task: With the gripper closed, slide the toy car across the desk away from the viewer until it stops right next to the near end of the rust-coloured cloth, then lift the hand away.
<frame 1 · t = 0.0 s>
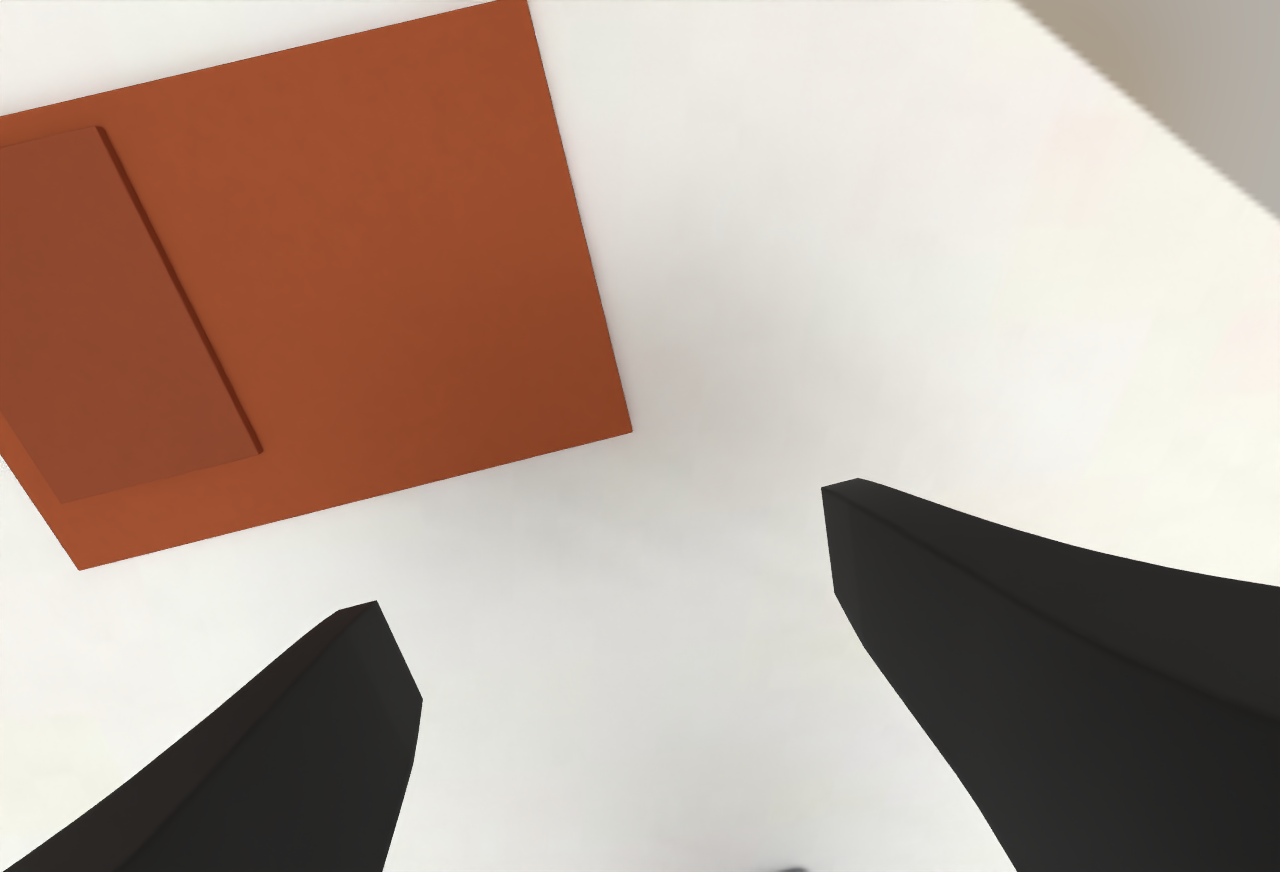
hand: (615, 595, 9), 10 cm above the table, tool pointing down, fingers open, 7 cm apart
rust cloth: (280, 314, 17), on the table
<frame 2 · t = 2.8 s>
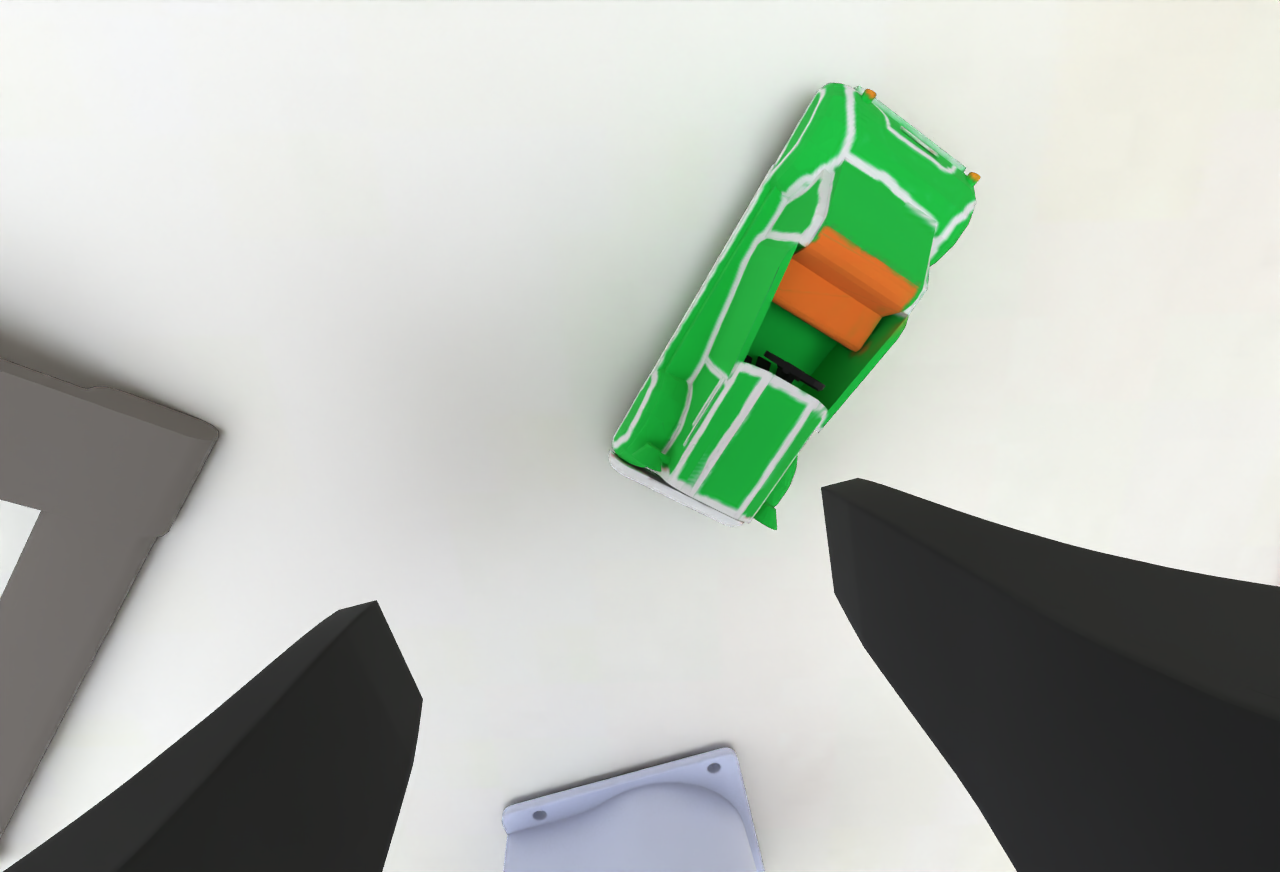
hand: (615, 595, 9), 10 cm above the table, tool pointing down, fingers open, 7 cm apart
toy car: (765, 320, 18), on the table
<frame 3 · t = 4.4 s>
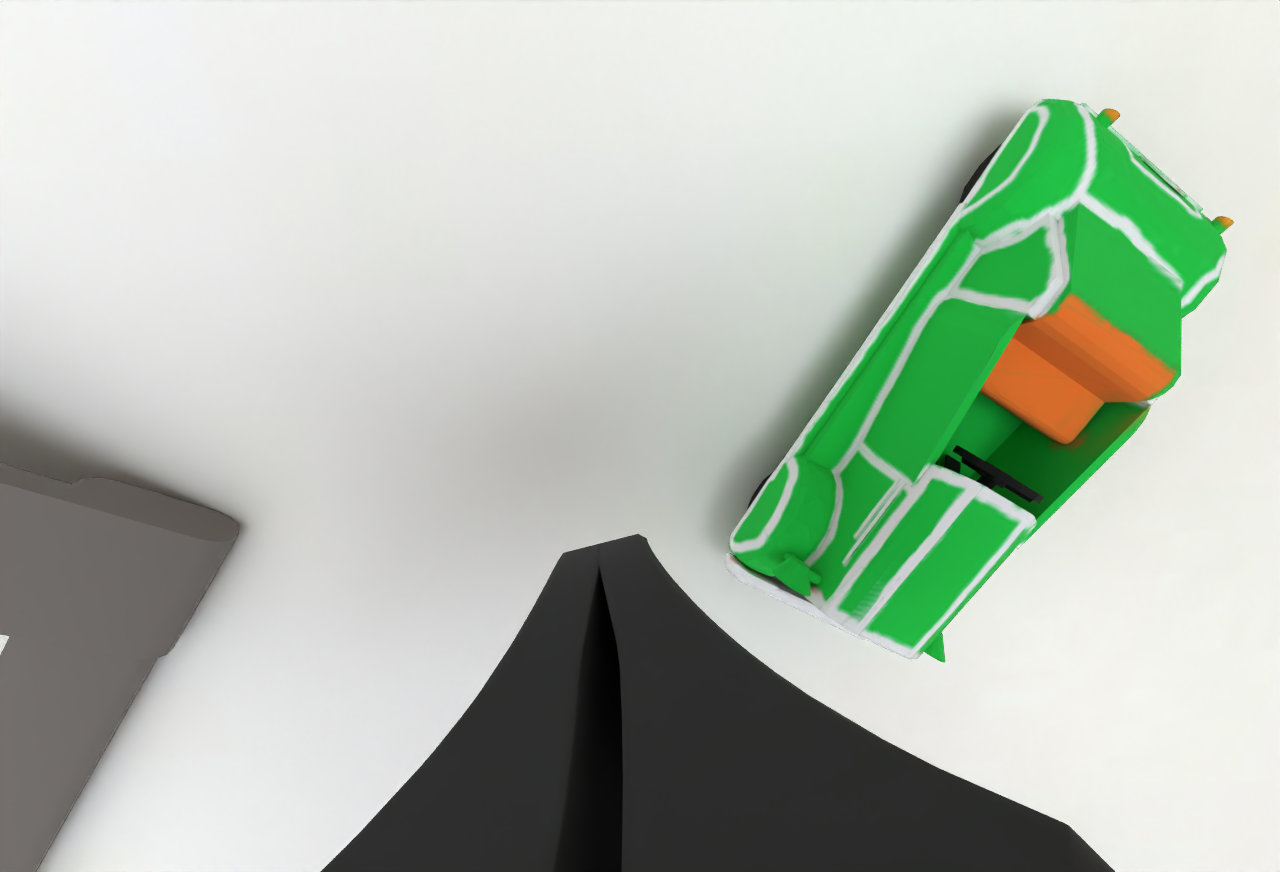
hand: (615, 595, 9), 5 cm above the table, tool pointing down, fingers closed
toy car: (915, 388, 15), on the table
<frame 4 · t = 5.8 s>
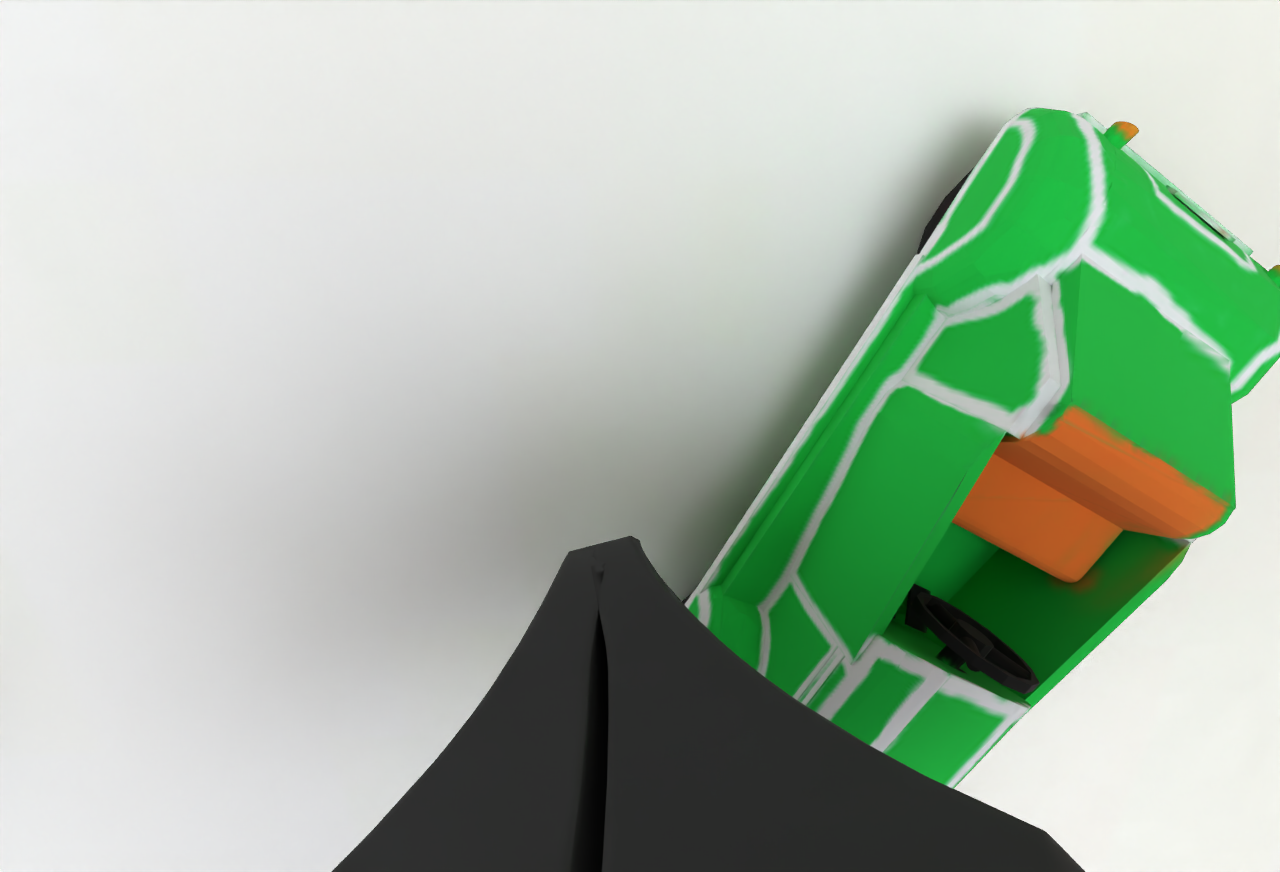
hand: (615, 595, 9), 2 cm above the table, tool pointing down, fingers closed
toy car: (873, 481, 11), on the table, touching gripper
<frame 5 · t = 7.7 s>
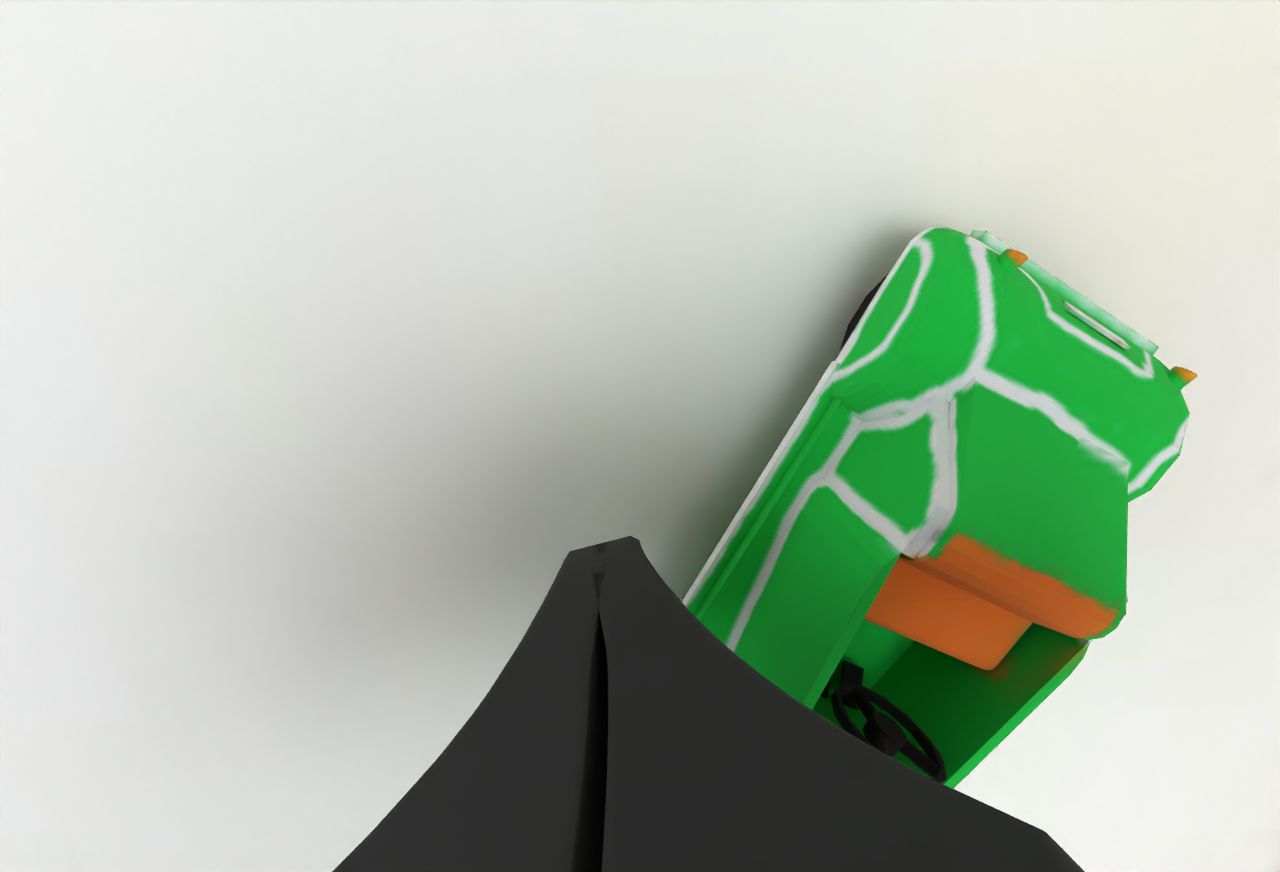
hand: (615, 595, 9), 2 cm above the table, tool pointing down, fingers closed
toy car: (815, 554, 12), on the table, touching gripper
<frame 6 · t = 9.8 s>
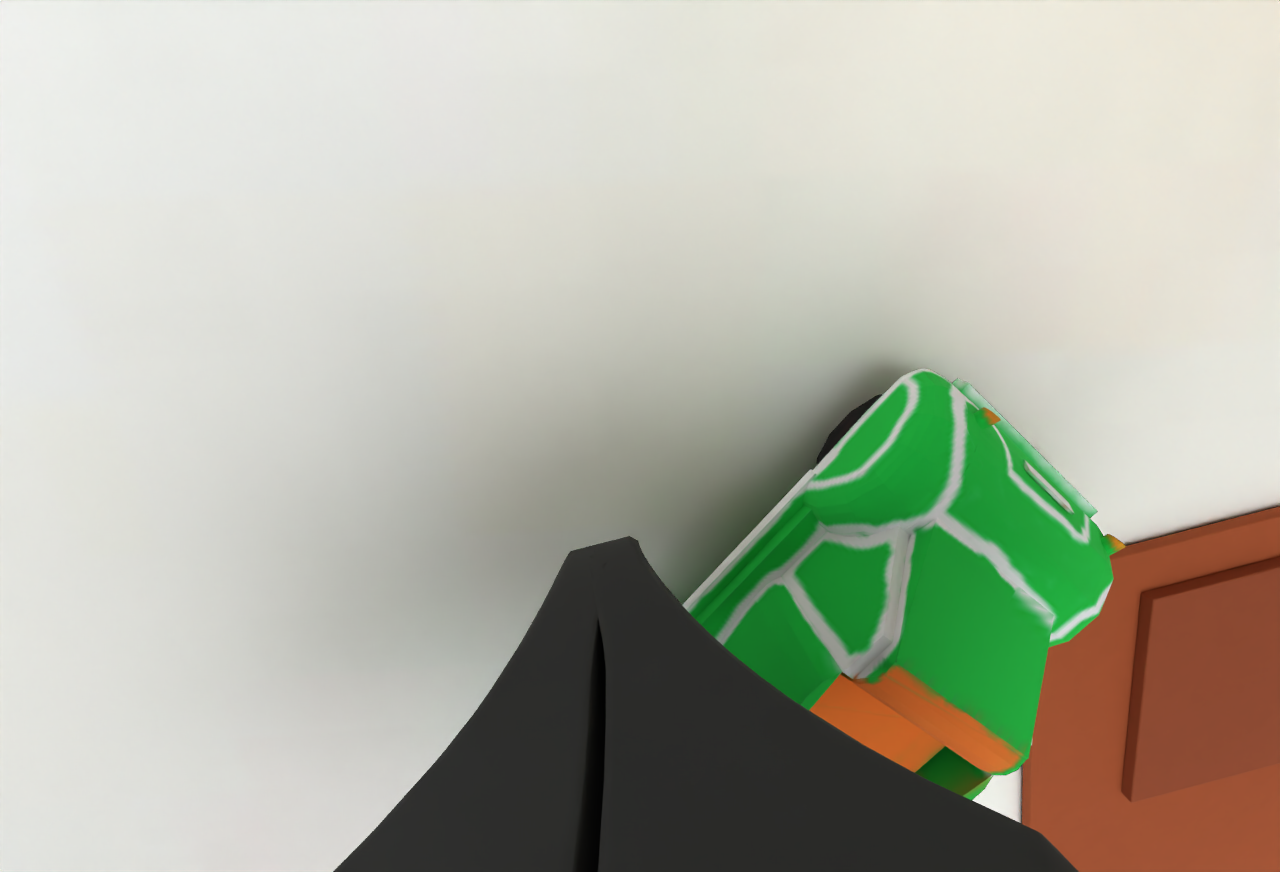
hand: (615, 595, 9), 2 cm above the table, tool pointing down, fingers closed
rust cloth: (1239, 799, 15), on the table
toy car: (758, 635, 12), on the table, touching gripper
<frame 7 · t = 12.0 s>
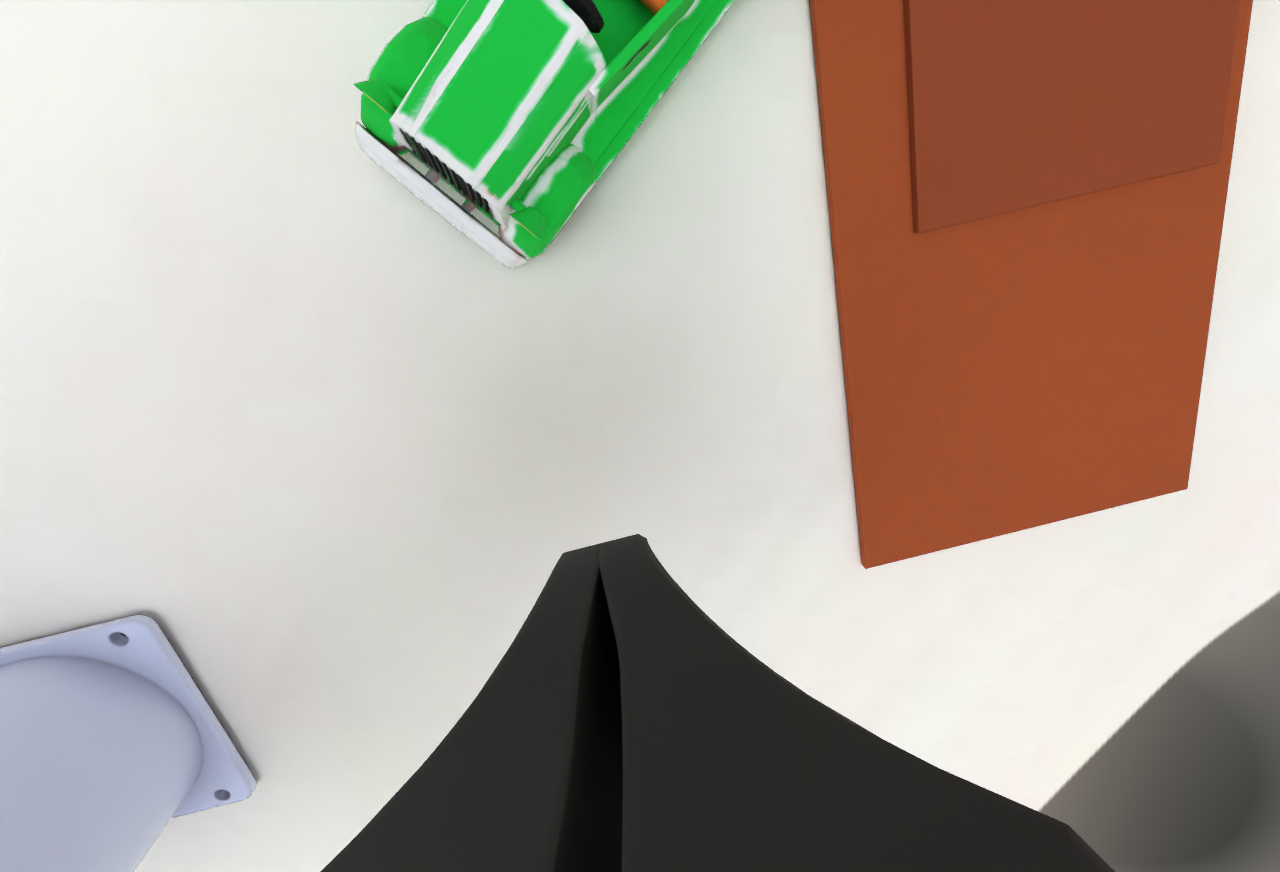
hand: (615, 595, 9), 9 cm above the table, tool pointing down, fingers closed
rust cloth: (1027, 273, 18), on the table
toy car: (586, 19, 15), on the table
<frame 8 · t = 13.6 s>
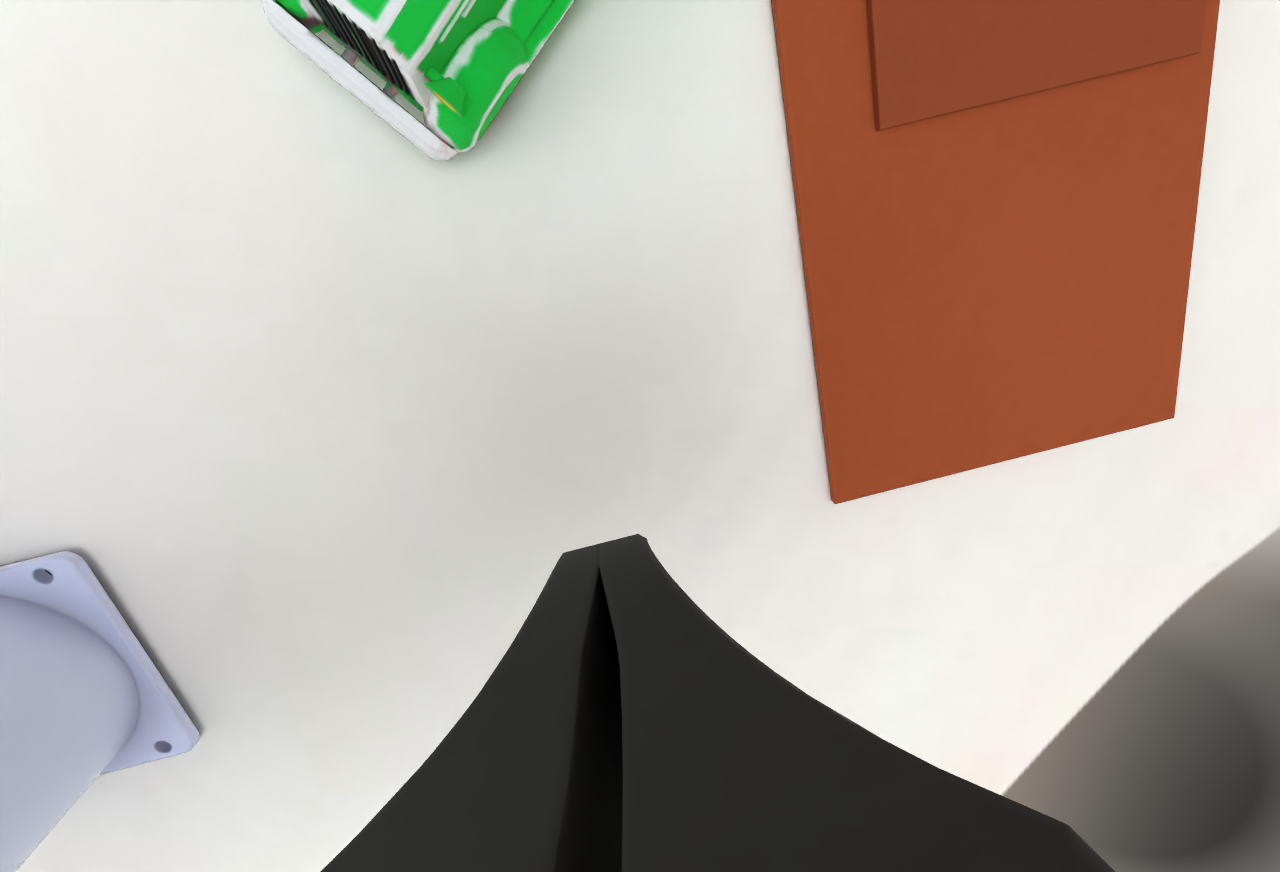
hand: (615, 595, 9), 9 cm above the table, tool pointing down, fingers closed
rust cloth: (998, 178, 17), on the table
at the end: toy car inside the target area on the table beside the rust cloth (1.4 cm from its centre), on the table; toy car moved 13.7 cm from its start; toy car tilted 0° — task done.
